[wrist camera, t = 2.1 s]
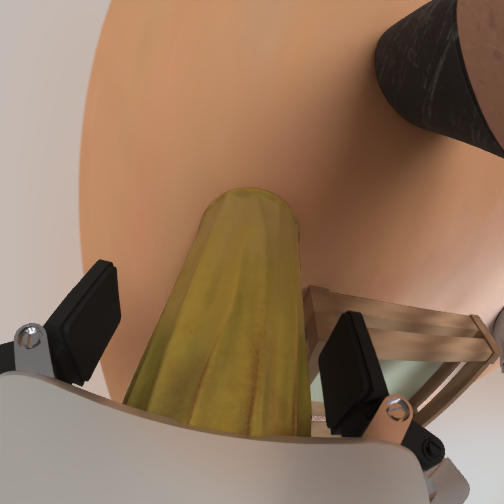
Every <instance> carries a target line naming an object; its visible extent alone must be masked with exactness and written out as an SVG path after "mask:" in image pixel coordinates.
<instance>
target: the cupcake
mask: <svg viewBox="0 0 504 504" xmlns="http://www.w3.org/2000/svg"><path fill="white" fill-rule="evenodd" d="M494 337H495V340H496V343H497V345H498V346H499V348H500V350H501V351H502V353H501V355H500V367H502V373H504V309H503V310H502V311H501V313H500V314H499V316H498V318H497V320H496V322H495V325H494Z"/></svg>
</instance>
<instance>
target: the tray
mask: <svg viewBox="0 0 504 504" xmlns="http://www.w3.org/2000/svg"><path fill="white" fill-rule="evenodd" d="M347 311H355V312H360V313H361V314H362V316H363V319H364V321H365V324H366V327H367V329H368V332H369V335H370V338H371V341H372V343H373V346H374V349H375V352H376V355H377V358H378V361H379V364H380V367H381V370H382V373H383V376H384V379H385V382H386V385H387V389H388V392H389V395H394V394H395V395H400V396H402V397H404V398H405V399H406V400H408V402H409V403H410V404H411V407H412V409H413V417H412V420H414V421H415V422H417V423H418V424H419V425H421V426H422V427H423V428H424V427H426V426H427V425H428V424H429V423H431V422H432V421H433V420H434V419H435V418H436V417H438V416H439V415H440V414H441V413H442V412H443V411H444V410H445V409H447V408H448V407H449V406H450V405H451V404H452V403H453V402H454V401H455V400H456V399H457V398H458V397H459V396H460V395H461V394H462V393H463V392H464V391H465V390H466V389H467V388H468V387H469V386H470V385H471V384H472V383H473V382H474V381H475V380H476V379H477V378H478V377H479V376H480V374H481V373H482V372H483V371H484V370H485V369H486V368H487V367H488V365H489V364H493V363H494V362H495V361H496V360H497V358H498V357H499V356H500V355H501V353H502V351H501V350H500V348H499V346H498V345H497V343H496V342H495V340H494V338H493V337H492V335H491V334H490V332H489V331H488V329H487V328H486V326H485V325H484V323H483V322H482V320H481V319H480V317H479V316H477V315H470V316H465V315H459V314H452V313H446V312H440V311H434V310H427V309H421V308H415V307H409V306H404V305H398V304H392V303H386V302H381V301H375V300H370V299H364V298H359V297H353V296H348V295H343V294H337V293H332V292H329V290H328V289H324V288H319V287H314V286H309V289H308V291H307V294H306V296H305V299H304V329H305V341H306V350H307V360H308V370H309V381H310V392H311V405H312V416H325V408H324V400H323V393H322V386H321V379H320V372H319V365H318V358H319V355H320V353H321V351H322V350H323V348H324V346H325V344H326V342H327V341H328V339H329V337H330V335H331V333H332V331H333V329H334V328H335V326H336V324H337V322H338V320H339V318H340V316H341V314H343V313H346V312H347ZM460 362H467V363H466V364H465V365H464V366H463V367H462V368H461V370H460V371H459V372H458V373H457V374H456V375H455V376H454V377H453V379H452V380H451V381H450V382H449V383H448V384H447V385H446V386H445V387H444V388H443V389H442V390H441V391H440V392H439V393H438V394H437V395H436V396H435V397H434V398H433V399H432V400H431V401H430V402H429V403H428V404H427V405H426V406H425V407H424V408H423V409H421V410H420V411H419V412H418V411H417V408H418V407H419V406H420V405H421V404H422V403H423V402H424V401H425V400H426V399H427V398H428V397H429V396H430V395H431V394H432V393H433V392H434V391H435V390H436V389H437V388H438V387H439V386H440V385H441V384H442V383H443V382H444V381H445V379H446V378H447V377H448V376H449V375H450V374H451V373H452V372H453V371H454V369H455V368H456V367H457V366H458V365H459V364H460ZM311 437H342V435H331V431H330V428H327V425H326V421H311Z"/></svg>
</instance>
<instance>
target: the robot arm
mask: <svg viewBox="0 0 504 504" xmlns="http://www.w3.org/2000/svg"><path fill="white" fill-rule="evenodd" d="M120 320H121V310H120V302H119V292H118V281H117V269H116V267H114V266H113V263H112V262H109V261H105V260H101V259H100V260H98V261H97V262H96V263H95V264H94V266H93V267H92V268H91V269H90V270H89V271H88V272H87V273H86V275H85V276H84V277H83V278H82V279H81V281H80V282H79V283H78V284H77V285H76V286H75V287H74V288H73V289H72V290H71V292H70V293H69V294H68V295H67V296H66V298H65V299H64V300H63V301H62V303H61V304H60V305H59V306H58V307H57V309H56V310H55V311H54V313H53V314H52V315H51V316H50V318H49V319H48V320H47V322H46V323H45V324H44V326H41V325H39V324H36V323H29V324H26V325H23V326H22V327H20V328H19V329H18V330H17V332H16V334H15V336H14V341H12V342H8V343H5V344H1V345H0V504H463V503H464V501H465V500H466V499H467V497H468V495H469V491H470V487H469V484H468V482H467V480H466V479H465V478H464V476H463V475H462V474H461V473H460V471H459V470H458V469H457V468H456V466H455V465H454V464H453V463H452V461H451V460H450V459H449V458H446V459H445V458H444V455H445V448H444V445H443V443H442V442H441V440H440V439H439V438H437V437H436V436H435V435H433V434H432V433H430V432H429V431H427V430H426V429H425V428H423V427H422V426H421V425H419V424H418V423H417V422H415V421H414V420H412V417H413V409H412V407H411V404H410V403H409V402H408V400H406V399H405V398H404V397H402V396H400V395H395V394H394V395H389V392H388V389H387V385H386V382H385V379H384V376H383V373H382V370H381V367H380V364H379V361H378V358H377V355H376V352H375V349H374V346H373V343H372V341H371V338H370V335H369V332H368V329H367V327H366V324H365V321H364V319H363V316H362V314H361V313H360V312H355V311H347V312H346V313H343V314H341V316H340V318H339V320H338V322H337V324H336V326H335V328H334V329H333V331H332V333H331V335H330V337H329V339H328V341H327V342H326V344H325V346H324V348H323V350H322V351H321V353H320V355H319V358H318V365H319V372H320V379H321V386H322V393H323V400H324V408H325V416H326V425H327V428H330V431H331V435H342V437H301V436H283V435H266V436H262V437H251V436H244V435H240V434H236V433H232V432H225V431H219V430H213V429H206V428H198V427H191V426H188V425H184V424H181V423H180V422H178V421H176V420H175V419H173V418H169V417H166V416H162V415H158V414H154V413H151V412H147V411H144V410H140V409H137V408H134V407H131V406H127V405H124V404H121V403H118V402H115V401H113V400H110V399H107V398H104V397H101V396H99V395H96V394H93V393H91V392H88V391H85V390H83V389H80V388H78V387H75V386H73V385H72V383H75V384H77V385H79V386H83V384H84V382H85V381H89V379H90V378H91V376H92V374H93V372H94V369H95V368H96V366H97V364H98V362H99V360H100V358H101V356H102V354H103V352H104V350H105V348H106V347H107V345H108V343H109V341H110V339H111V337H112V336H113V334H114V332H115V330H116V328H117V327H118V325H119V323H120Z"/></svg>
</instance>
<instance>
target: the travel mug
mask: <svg viewBox="0 0 504 504" xmlns="http://www.w3.org/2000/svg"><path fill="white" fill-rule="evenodd" d="M375 69H376V74H377V78H378V81H379V84H380V87H381V89H382V91H383V93H384V95H385V97H386V98H387V100H388V101H389V103H390V104H391V105H392V107H393V108H394V109H395V110H396V111H397V112H398V113H399V114H400V115H401V116H402V117H403V118H405V119H406V120H408V121H409V122H410V123H412V124H414V125H416V126H418V127H421V128H423V129H426V130H429V131H432V132H435V133H438V134H442V135H445V136H448V137H451V138H453V139H456V140H459V141H462V142H465V143H467V144H470V145H473V146H475V147H478V148H480V149H483V150H485V151H488V152H490V153H492V154H495V155H497V156H499V157H501V158H504V0H432V1H430V2H428V3H427V4H425V5H423V6H422V7H420V8H419V9H417V10H415V11H414V12H412V13H411V14H409V15H408V16H406V17H404V18H403V19H401V20H400V21H398V22H397V23H396V24H394V25H393V26H391V27H390V28H389V29H388V30H387V31H386V32H385V33H384V34H383V35H382V37H381V38H380V40H379V42H378V45H377V48H376V53H375Z"/></svg>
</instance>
